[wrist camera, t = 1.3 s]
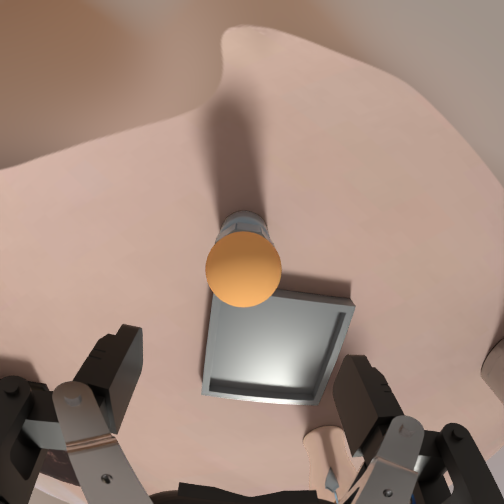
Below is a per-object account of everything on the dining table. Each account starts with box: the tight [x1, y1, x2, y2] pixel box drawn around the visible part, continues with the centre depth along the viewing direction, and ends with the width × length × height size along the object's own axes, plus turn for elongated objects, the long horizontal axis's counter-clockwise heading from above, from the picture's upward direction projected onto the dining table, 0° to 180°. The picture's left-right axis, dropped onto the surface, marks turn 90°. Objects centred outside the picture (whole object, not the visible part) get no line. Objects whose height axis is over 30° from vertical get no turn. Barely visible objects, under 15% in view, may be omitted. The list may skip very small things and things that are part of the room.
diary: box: [0, 379, 81, 487], centre depth 38 cm, size 19×25×5 cm
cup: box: [215, 211, 274, 246], centre depth 26 cm, size 4×4×7 cm
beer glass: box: [303, 426, 357, 504], centre depth 32 cm, size 7×7×15 cm
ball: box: [205, 231, 282, 307], centre depth 21 cm, size 5×5×5 cm
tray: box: [201, 289, 356, 405], centre depth 32 cm, size 14×14×2 cm
